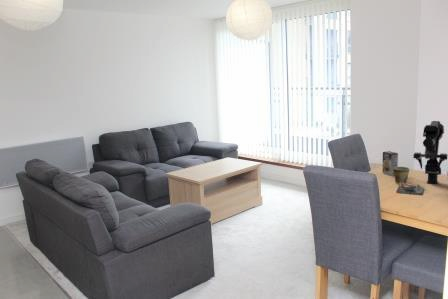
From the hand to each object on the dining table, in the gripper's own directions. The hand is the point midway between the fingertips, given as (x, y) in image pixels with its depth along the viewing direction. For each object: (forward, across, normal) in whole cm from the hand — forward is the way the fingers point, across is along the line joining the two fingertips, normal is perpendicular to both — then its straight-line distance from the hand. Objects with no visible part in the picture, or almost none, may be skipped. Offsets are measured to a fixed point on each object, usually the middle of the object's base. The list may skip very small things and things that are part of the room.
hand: (429, 169), depth 246 cm
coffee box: (+12, -28, +30) cm, 43 cm away
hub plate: (+12, -10, -11) cm, 19 cm away
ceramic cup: (+12, -18, +8) cm, 23 cm away
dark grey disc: (+10, -11, -10) cm, 18 cm away
